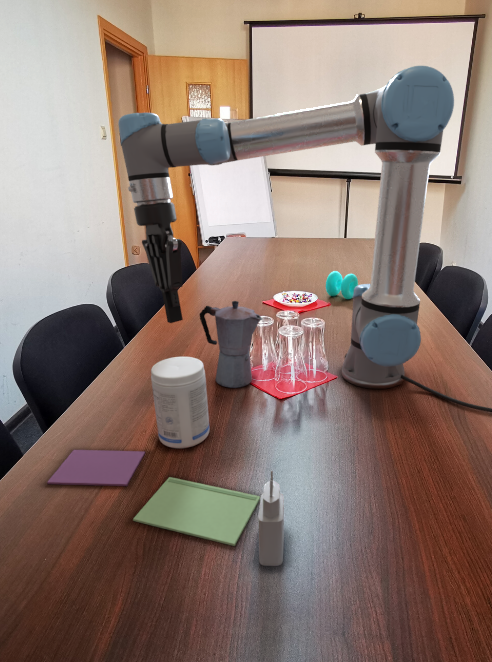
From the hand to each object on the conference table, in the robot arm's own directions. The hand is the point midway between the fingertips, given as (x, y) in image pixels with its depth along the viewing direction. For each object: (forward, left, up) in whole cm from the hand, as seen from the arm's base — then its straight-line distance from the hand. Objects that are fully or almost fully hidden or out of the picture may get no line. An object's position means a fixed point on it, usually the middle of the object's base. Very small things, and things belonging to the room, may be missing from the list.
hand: (175, 320), depth 95 cm
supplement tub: (-7, +12, -19) cm, 24 cm away
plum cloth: (+2, +25, -19) cm, 31 cm away
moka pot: (-6, -13, -19) cm, 23 cm away
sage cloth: (-19, +29, -19) cm, 40 cm away
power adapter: (-32, +33, -19) cm, 50 cm away
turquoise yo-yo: (-17, -94, -19) cm, 97 cm away
